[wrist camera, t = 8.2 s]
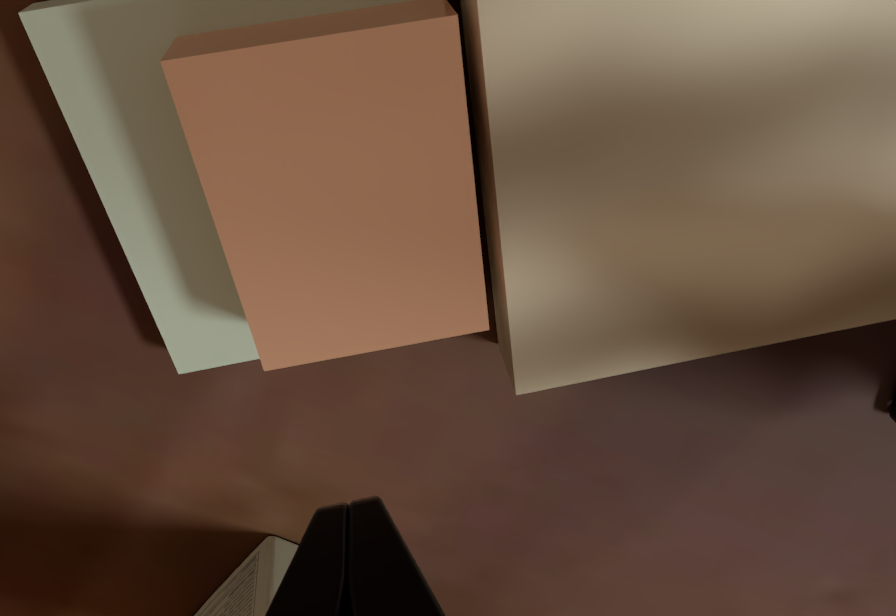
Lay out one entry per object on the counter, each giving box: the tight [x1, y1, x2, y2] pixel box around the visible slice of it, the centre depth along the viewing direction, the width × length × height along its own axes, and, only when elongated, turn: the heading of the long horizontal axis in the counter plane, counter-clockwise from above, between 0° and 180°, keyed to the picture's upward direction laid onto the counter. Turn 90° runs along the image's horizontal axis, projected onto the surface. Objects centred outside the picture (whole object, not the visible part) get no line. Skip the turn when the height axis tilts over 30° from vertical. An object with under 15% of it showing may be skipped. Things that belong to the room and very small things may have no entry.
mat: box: [18, 0, 412, 374], centre depth 19 cm, size 10×9×1 cm
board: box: [460, 0, 896, 395], centre depth 19 cm, size 14×13×2 cm
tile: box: [160, 0, 489, 371], centre depth 18 cm, size 8×6×2 cm
